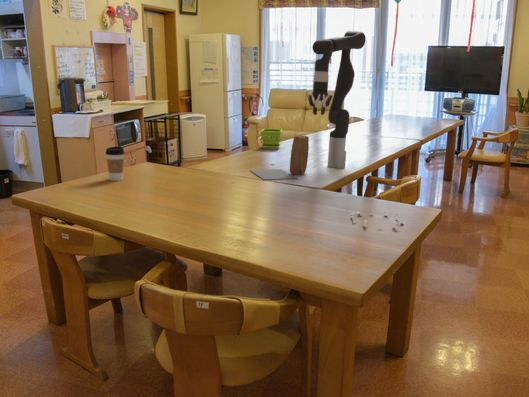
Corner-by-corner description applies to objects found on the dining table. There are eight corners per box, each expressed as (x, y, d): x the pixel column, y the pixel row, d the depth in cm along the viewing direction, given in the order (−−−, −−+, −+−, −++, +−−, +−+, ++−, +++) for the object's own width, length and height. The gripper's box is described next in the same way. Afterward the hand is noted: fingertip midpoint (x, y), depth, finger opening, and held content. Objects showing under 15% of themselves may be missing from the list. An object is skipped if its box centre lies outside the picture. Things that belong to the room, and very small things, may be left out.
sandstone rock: (301, 176, 251) (305, 137, 246) (287, 173, 254) (291, 135, 249) (307, 173, 261) (312, 136, 256) (294, 171, 263) (298, 134, 259)
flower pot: (262, 146, 347) (263, 128, 343) (282, 147, 345) (282, 129, 342) (259, 149, 333) (260, 130, 330) (279, 150, 331) (280, 131, 328)
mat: (281, 170, 266) (281, 169, 265) (297, 178, 246) (297, 177, 245) (250, 171, 259) (250, 170, 259) (264, 180, 239) (264, 179, 239)
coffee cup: (129, 178, 231) (128, 147, 228) (117, 182, 224) (115, 149, 220) (115, 176, 235) (114, 145, 231) (102, 179, 227) (101, 148, 224)
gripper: (329, 80, 254) (327, 114, 259) (305, 80, 249) (303, 114, 254) (336, 81, 247) (334, 115, 252) (311, 80, 243) (309, 115, 247)
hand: (318, 114), depth 253 cm, fingers open, 3 cm apart
